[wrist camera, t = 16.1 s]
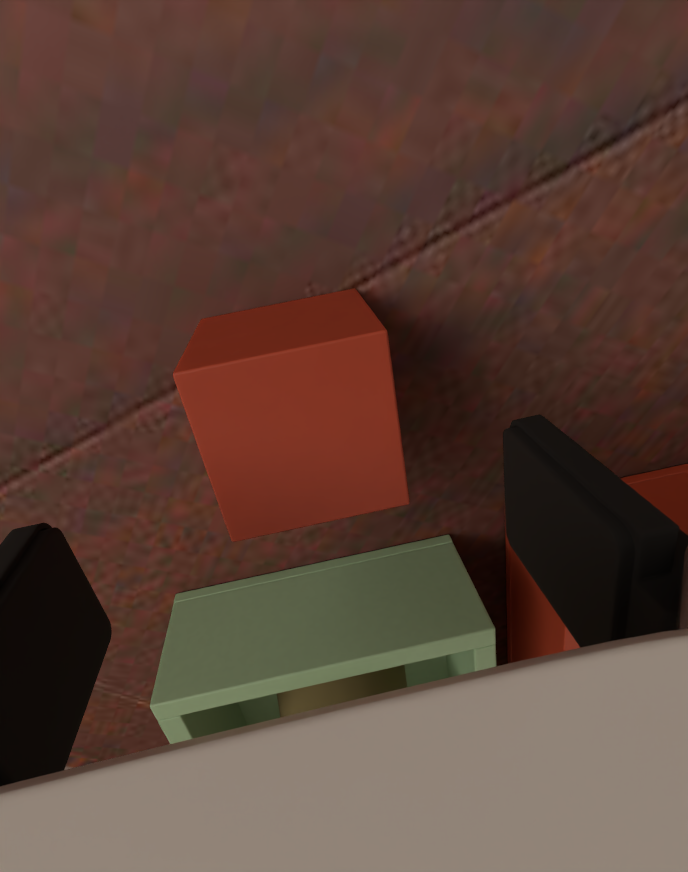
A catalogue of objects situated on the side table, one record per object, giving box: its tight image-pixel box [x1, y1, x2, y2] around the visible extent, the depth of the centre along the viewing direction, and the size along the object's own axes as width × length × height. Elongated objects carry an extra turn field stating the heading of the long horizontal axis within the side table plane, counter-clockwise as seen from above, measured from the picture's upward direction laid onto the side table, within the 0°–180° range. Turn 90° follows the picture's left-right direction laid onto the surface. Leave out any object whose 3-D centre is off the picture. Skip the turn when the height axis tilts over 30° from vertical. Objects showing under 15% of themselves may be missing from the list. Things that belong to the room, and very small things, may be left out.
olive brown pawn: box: [277, 665, 407, 718], centre depth 18 cm, size 6×6×11 cm
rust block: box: [173, 289, 410, 542], centre depth 15 cm, size 5×5×5 cm
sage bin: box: [150, 535, 496, 744], centre depth 21 cm, size 12×12×5 cm
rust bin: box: [505, 464, 688, 664], centre depth 21 cm, size 12×12×5 cm
